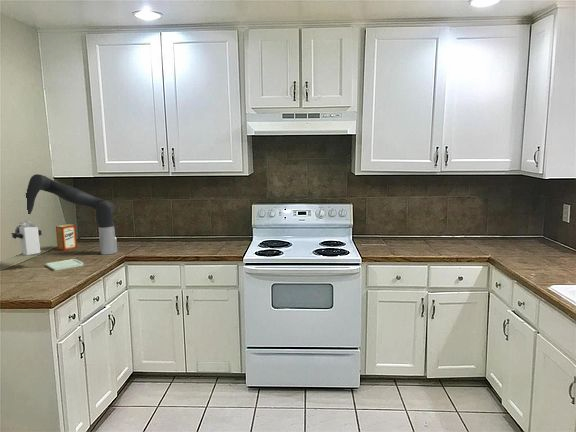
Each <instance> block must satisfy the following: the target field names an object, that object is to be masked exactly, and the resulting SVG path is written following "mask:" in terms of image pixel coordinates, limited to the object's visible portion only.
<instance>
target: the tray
mask: <svg viewBox="0 0 576 432" xmlns="http://www.w3.org/2000/svg"><path fill="white" fill-rule="evenodd" d="M84 266H85V262H83V261H81V260H78V259H76V258H73V259H72V258H70V259H65V260H59V261H54V262H47V263H45V267H46V268H49V269H50V270H52V271H54V272H55V271H61V270H67V269H72V268H77V267H84Z"/></svg>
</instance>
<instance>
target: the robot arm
mask: <svg viewBox="0 0 576 432" xmlns="http://www.w3.org/2000/svg"><path fill="white" fill-rule="evenodd" d="M26 191H27V193H26V192H25V194H26V198H27V210H28V214H30V215H31V214H32V212H33V210H34V205H35V201H36V198H37V195H38V193H39V192H40V191H43V192H47V193H50V194H54V195H56V196H58V197H59V198H60V199H62V200H64V201H67V202H69V203H72V204H74V205H78V206H82V207H88V208H91V209H93V210H95V215H96V221H97V222H96V223H97V224H98V237H99V249H100V251H99V252H100V254H101V255H112V254H117V253H118V243H117V237H116V233H115V232H116V231H115V229H116V228H115V221H113V216H112V214H113V213H114V212H115V209H116V208H115V207H116V206H115V205H114V204H115V203H113V202H111V201H110V200H108V199H107V200H106V199H103V198H100V197H97V196H94V195H92V194H89V193H87V192H85V191H83V190H81V189H78V188H75V187H73V186H70V185H68V184H67V185H66V184H63V183H59V182H58V181H55V180H53V179H51V178H49V177H47V176H46V175H43V174H37V173H36V174H33V175H32V176H31V177H30V179H29V181H28V185H27V189H26ZM20 226H21V225H19V226H17V227H16V229H15V233H11V237H12V238H13V239H20V238H21V239H22V238H23V236H22V234H20V231H19V227H20ZM38 234H39V236H42V230H40V229H38Z"/></svg>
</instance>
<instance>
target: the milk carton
mask: <svg viewBox="0 0 576 432" xmlns="http://www.w3.org/2000/svg"><path fill="white" fill-rule="evenodd" d="M21 223H22V222H21ZM38 227H39V226H37V225H35V224H33V223H32V221H31V220H29V219H28V220H25V222H24V223H22V225H21V226H20V227H19V231H20V234H22V236H23V238H22V239H21V238H19V239H20V247H21V254H23V255H25V256H31V255H35V254H40V253H41V246H40V245H41V244H40V235H39V234H38V230H39V228H38Z"/></svg>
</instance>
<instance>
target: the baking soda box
mask: <svg viewBox="0 0 576 432" xmlns="http://www.w3.org/2000/svg"><path fill="white" fill-rule="evenodd" d="M55 230H56V231H55V232H56V243H57V250H58V251H59V250H60V251H67V250H72V249H77V247H78V243H77V231H76V224H72V223H71V224H70V223H69V224H63V225H62V224H61V225H56V226H55Z"/></svg>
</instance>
